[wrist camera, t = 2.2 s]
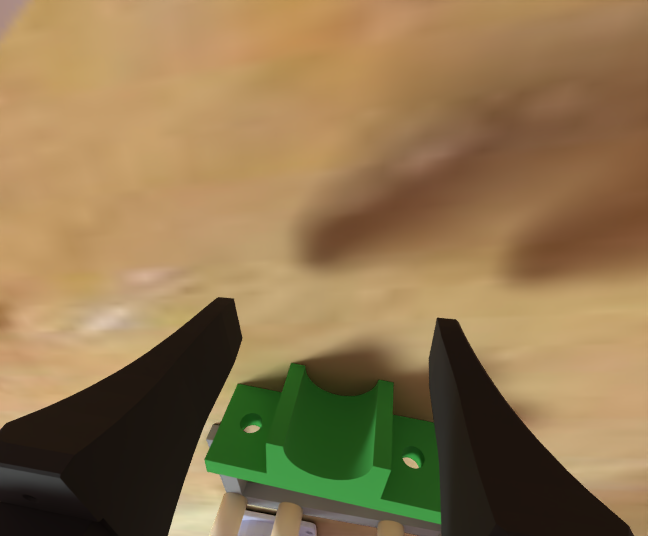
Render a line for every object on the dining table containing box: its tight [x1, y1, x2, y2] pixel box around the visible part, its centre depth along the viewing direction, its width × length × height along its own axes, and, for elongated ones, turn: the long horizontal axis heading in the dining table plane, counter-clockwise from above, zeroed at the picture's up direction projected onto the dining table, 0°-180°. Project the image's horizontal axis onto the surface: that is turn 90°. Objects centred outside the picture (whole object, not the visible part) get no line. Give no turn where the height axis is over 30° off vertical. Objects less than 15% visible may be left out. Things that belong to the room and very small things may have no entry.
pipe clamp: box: [205, 363, 441, 524], centre depth 18 cm, size 11×4×5 cm, turn 86°
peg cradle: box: [206, 424, 441, 536], centre depth 23 cm, size 8×17×4 cm, turn 92°
